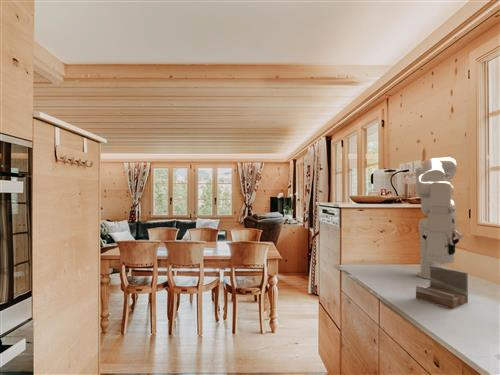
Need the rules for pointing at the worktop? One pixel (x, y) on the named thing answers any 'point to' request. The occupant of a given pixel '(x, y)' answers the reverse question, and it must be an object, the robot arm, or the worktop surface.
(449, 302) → the wall shelf
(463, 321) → the worktop surface
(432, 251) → the supplement box
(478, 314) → the worktop surface
